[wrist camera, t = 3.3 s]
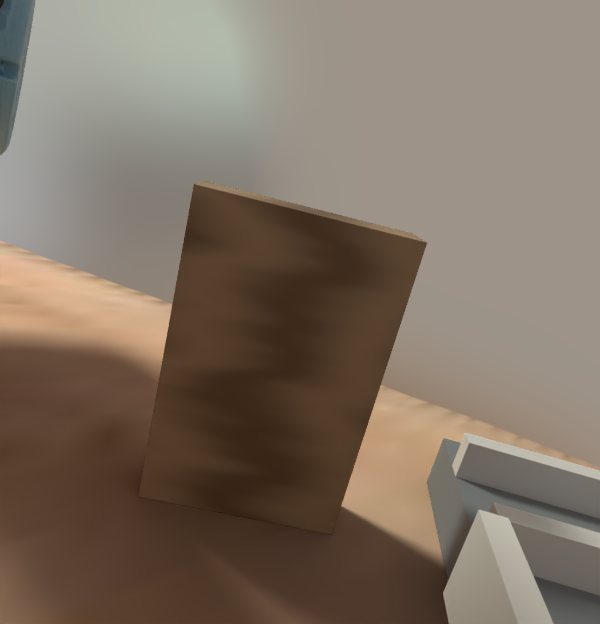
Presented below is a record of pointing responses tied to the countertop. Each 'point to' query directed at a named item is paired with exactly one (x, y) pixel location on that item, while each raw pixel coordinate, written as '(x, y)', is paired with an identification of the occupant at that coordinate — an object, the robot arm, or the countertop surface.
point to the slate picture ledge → (525, 516)
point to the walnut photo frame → (273, 356)
